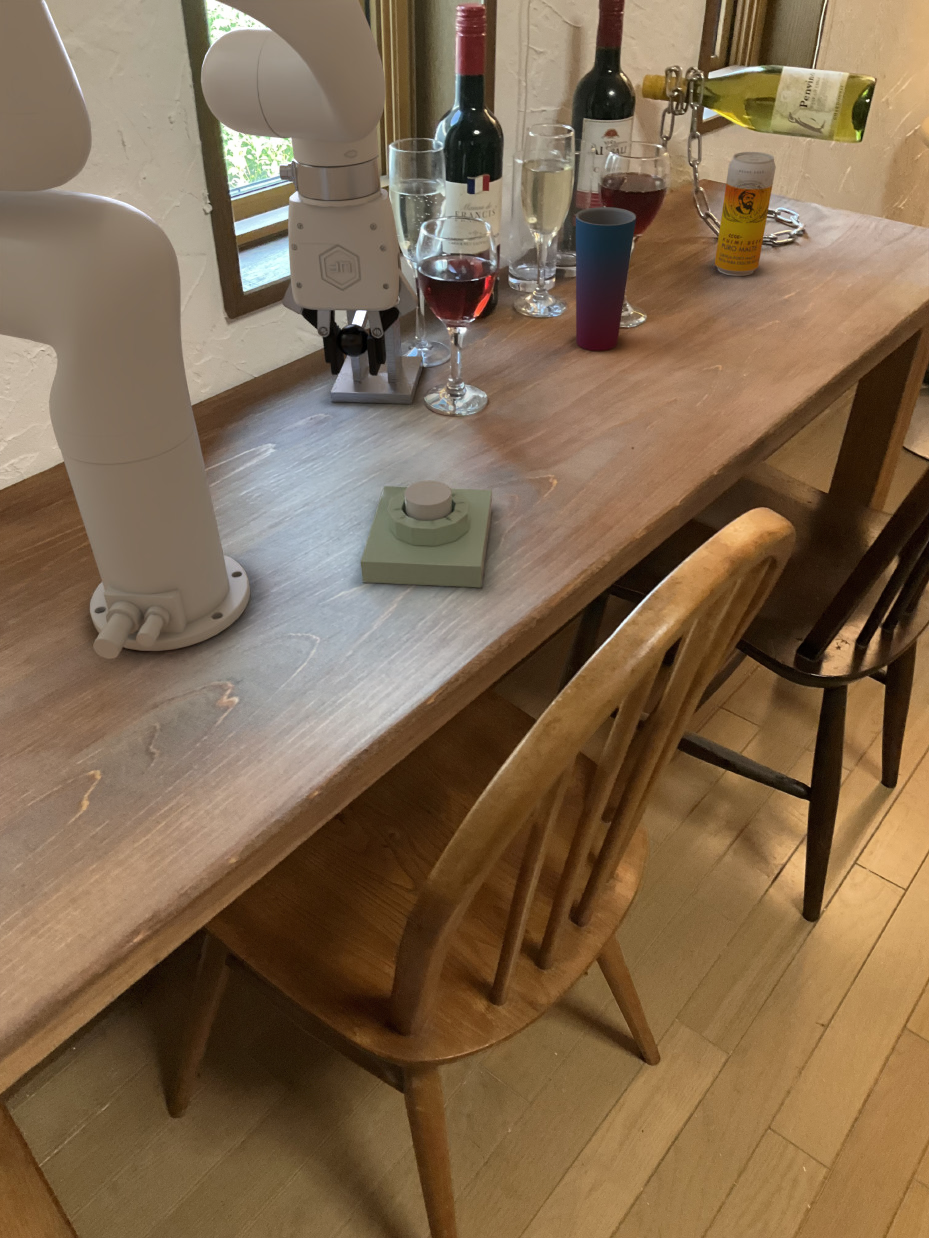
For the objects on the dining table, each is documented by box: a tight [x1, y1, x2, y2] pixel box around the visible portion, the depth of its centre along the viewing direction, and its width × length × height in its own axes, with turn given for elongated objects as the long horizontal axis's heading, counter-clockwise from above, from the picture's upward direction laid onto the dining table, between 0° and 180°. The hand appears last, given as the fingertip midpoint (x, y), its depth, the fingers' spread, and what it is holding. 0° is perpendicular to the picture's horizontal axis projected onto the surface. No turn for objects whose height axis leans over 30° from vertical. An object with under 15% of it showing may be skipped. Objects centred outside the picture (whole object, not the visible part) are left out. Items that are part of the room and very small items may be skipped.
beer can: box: [714, 151, 777, 277], centre depth 133 cm, size 6×6×15 cm
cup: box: [575, 206, 637, 352], centre depth 113 cm, size 7×7×15 cm
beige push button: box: [404, 480, 452, 521], centre depth 82 cm, size 4×4×2 cm
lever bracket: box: [330, 298, 424, 405], centre depth 106 cm, size 10×9×13 cm
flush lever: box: [337, 311, 369, 357], centre depth 99 cm, size 14×3×3 cm, turn 174°
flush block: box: [360, 485, 493, 588], centre depth 83 cm, size 12×10×4 cm
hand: (356, 368), depth 98 cm, fingers closed on flush lever, 3 cm apart
